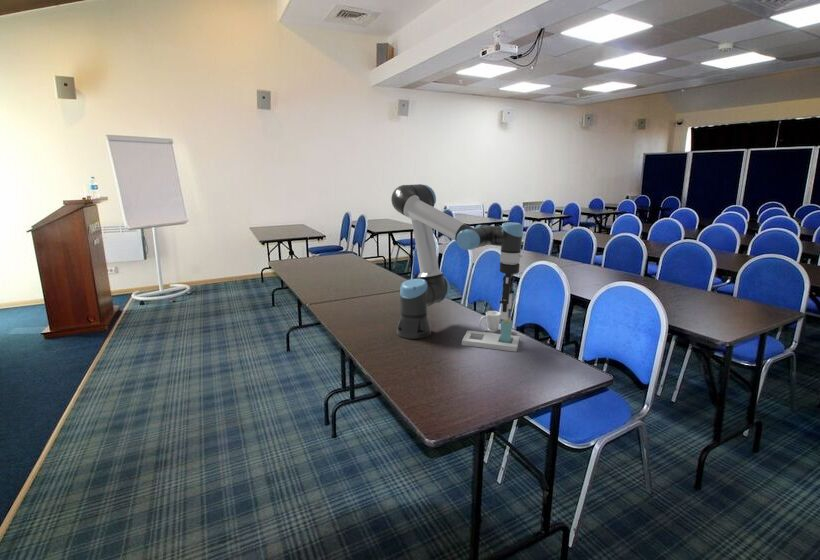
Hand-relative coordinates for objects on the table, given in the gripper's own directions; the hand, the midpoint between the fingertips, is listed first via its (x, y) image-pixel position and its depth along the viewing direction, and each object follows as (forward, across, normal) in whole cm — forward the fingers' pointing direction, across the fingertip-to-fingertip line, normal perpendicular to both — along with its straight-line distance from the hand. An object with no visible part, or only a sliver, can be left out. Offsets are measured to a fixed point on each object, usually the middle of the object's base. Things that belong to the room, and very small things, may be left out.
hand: (505, 313), depth 169 cm
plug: (+13, 0, -1) cm, 13 cm away
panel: (+13, 0, +5) cm, 14 cm away
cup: (+14, +14, +8) cm, 21 cm away
